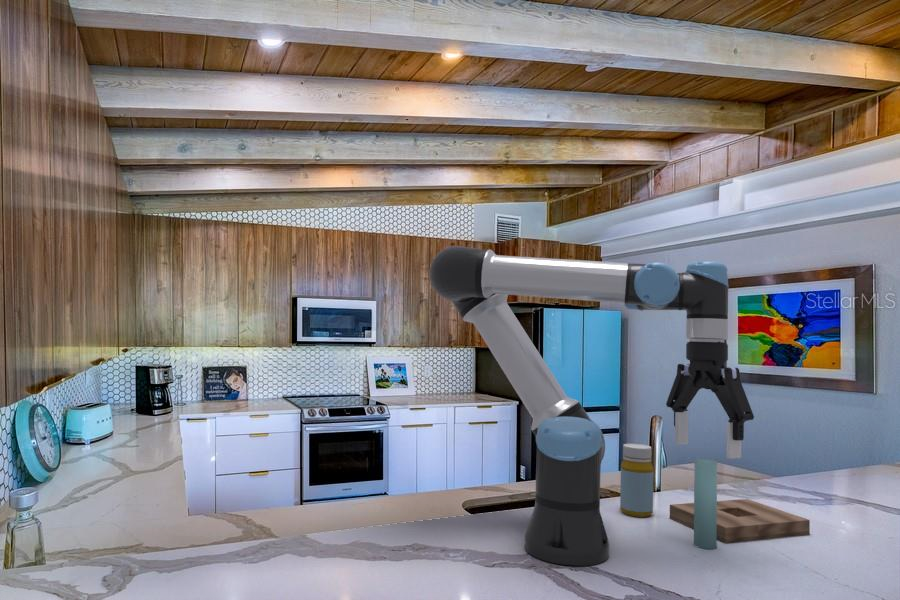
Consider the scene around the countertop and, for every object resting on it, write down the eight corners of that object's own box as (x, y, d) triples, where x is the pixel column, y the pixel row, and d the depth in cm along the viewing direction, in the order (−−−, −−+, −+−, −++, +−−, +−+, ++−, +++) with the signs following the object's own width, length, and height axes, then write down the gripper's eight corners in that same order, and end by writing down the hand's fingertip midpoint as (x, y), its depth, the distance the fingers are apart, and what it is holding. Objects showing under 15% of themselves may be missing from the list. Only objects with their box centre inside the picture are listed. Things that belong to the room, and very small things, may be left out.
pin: (704, 550, 110) (705, 463, 111) (689, 542, 114) (690, 459, 115) (721, 548, 112) (721, 462, 113) (705, 541, 115) (706, 458, 116)
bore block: (725, 543, 114) (725, 527, 115) (669, 518, 130) (669, 504, 130) (809, 534, 122) (809, 520, 122) (747, 512, 137) (747, 499, 137)
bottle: (654, 519, 128) (655, 449, 129) (621, 516, 130) (622, 447, 131) (650, 510, 135) (651, 444, 136) (619, 507, 137) (620, 442, 138)
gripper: (775, 342, 105) (776, 463, 103) (678, 340, 128) (677, 439, 127) (742, 341, 102) (742, 465, 101) (649, 339, 126) (648, 439, 124)
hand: (706, 450), depth 114 cm, fingers open, 13 cm apart
